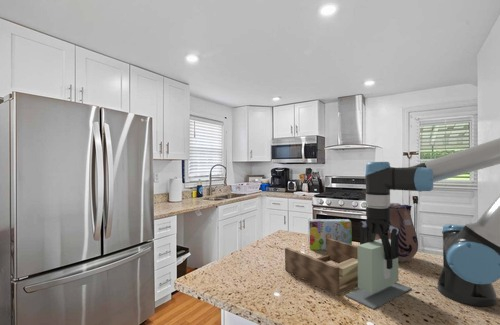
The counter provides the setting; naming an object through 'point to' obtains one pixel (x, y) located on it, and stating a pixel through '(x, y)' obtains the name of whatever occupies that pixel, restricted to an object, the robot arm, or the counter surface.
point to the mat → (378, 295)
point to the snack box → (328, 232)
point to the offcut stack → (348, 271)
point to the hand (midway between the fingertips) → (378, 274)
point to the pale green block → (374, 267)
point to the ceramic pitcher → (403, 231)
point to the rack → (322, 265)
